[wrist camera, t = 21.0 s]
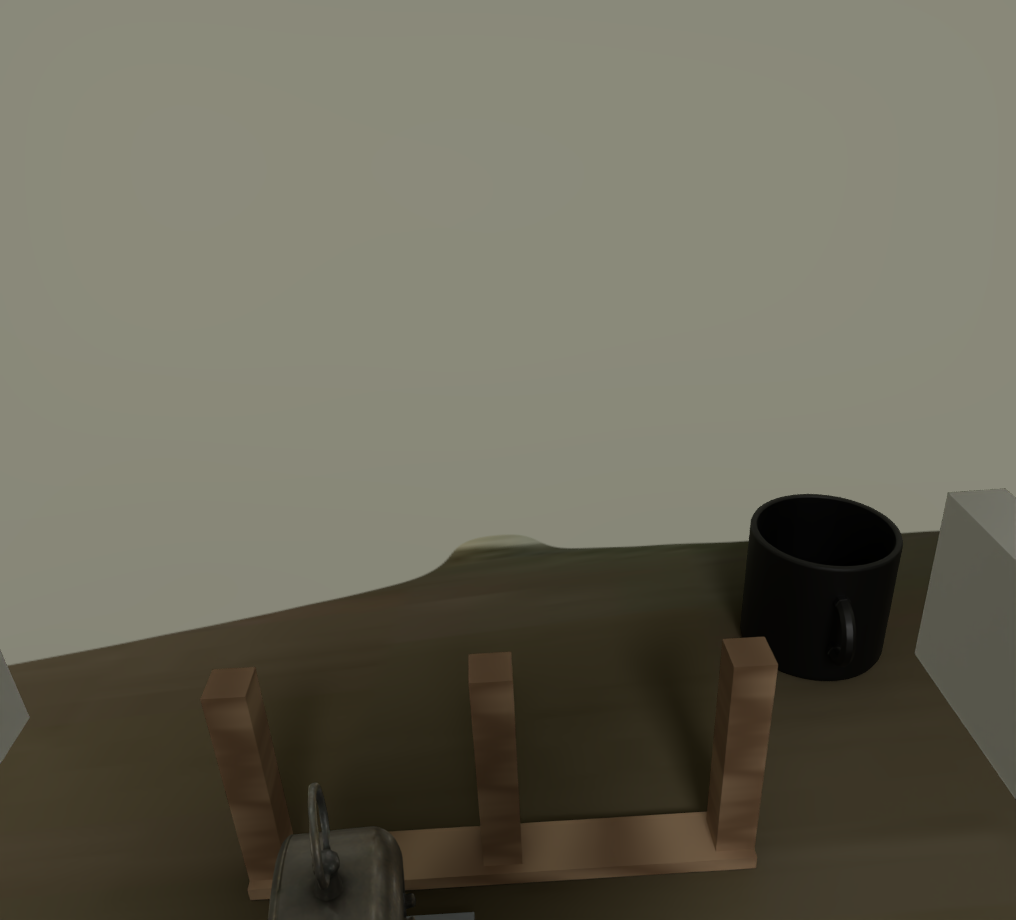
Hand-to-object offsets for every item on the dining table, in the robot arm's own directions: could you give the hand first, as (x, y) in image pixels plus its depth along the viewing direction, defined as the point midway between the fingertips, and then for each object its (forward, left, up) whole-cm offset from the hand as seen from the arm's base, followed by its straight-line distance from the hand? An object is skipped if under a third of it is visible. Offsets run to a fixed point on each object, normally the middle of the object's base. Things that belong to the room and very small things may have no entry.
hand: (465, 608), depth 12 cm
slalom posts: (0, -21, -32) cm, 38 cm away
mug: (-22, -36, -32) cm, 53 cm away
